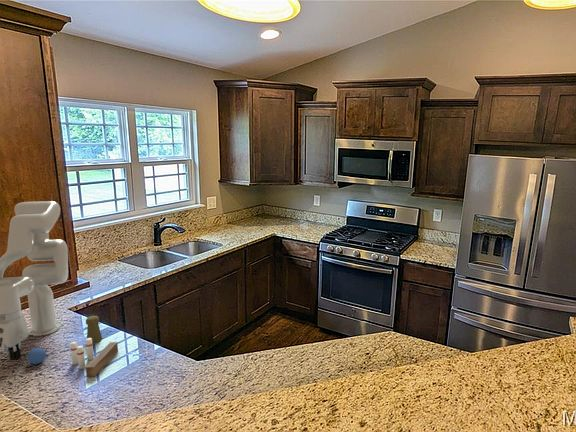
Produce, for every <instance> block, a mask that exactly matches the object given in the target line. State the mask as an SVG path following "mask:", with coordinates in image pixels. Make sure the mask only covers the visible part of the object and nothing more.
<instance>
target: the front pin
mask: <svg viewBox="0 0 576 432" xmlns="http://www.w3.org/2000/svg"><path fill="white" fill-rule="evenodd" d="M69 347H70V354H71V355H70V356H71V364H72V366H73V365H78V356H77V347H78V342H77V341H72V342H70V343H69Z"/></svg>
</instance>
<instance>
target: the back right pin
mask: <svg viewBox="0 0 576 432" xmlns="http://www.w3.org/2000/svg"><path fill="white" fill-rule="evenodd" d="M77 356H78V364H77V365H78V369H79V370H84V369H86V361H85V351H84V346H83V345H77Z"/></svg>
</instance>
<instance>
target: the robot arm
mask: <svg viewBox="0 0 576 432" xmlns="http://www.w3.org/2000/svg"><path fill="white" fill-rule="evenodd" d="M14 214H15V215H14V216H13V217H11V219H10V222H9V229H8V239H7V248H6V252H5V253H4V254H2V256H0V351H1V352H2V353H4V352H8V353H9V361H19V360H20V359H21V358H22V354H21V348H22V342H23V341H25V340H26V339H27V338H28V336H30V335H33V336H32V337H42V335H43V336H47V335H49V334H53V333H55V332H57V331H58V330H59V329H60V328H61V323H59V322H58V321H56V319H57V318H56V311H55V302H54V301H55V300H54V293H53V291H52V288H51V287H50V286H49V285H59V284H60V285H61V284H64V283H66V282H67V280H68V278H69V248H68V245H67V243H66V241H65V240H63V239H50V231H52V229H53V228H54V226H55V225H56V222H57V221H58V220H59V218H60V215H61V206H60V204H59V203H58V202H56V201H53V200H51V201H50V200H48V201H45V200H44V201H43V200H42V201H23V202H18V203H17V204H15V206H14ZM25 257H27V259H28V260H29V261H31V262H46V261H53V263H52V262H51V263H37V264H31V265H27V266H25V267H24V269H23V270H22V273H21V275H22V276H15V277H14V276H12V277H11V276H10V277H4V273H5V271H6V269H7V268H8V267H9V266H11V264H14V262H16V261H18V260H20V259H23V258H25ZM25 296H27V301H28V302H27V303H28V309H29V316H30V317H29V318H30V326H31V327H29V329H28V324H27V320H26V317H25V314H24V313H23V312H22V303H21V298H23V297H25Z"/></svg>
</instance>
